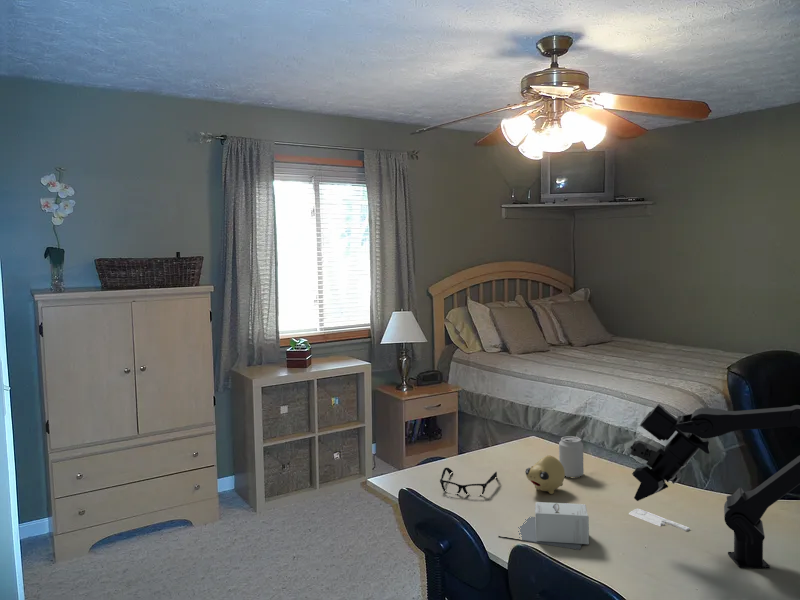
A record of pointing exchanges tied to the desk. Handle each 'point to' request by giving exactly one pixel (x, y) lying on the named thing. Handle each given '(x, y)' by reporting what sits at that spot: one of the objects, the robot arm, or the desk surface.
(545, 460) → the beige rounded figure
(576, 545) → the mat
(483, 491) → the glasses
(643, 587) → the desk surface
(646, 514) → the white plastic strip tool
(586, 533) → the supplement box
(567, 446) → the can
